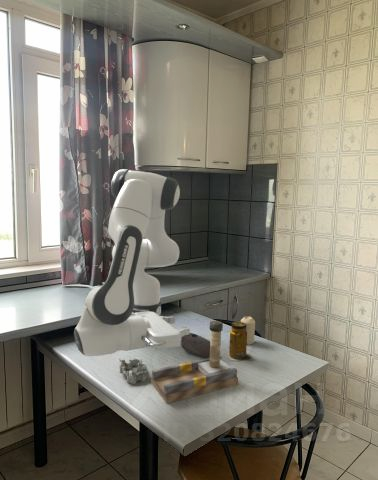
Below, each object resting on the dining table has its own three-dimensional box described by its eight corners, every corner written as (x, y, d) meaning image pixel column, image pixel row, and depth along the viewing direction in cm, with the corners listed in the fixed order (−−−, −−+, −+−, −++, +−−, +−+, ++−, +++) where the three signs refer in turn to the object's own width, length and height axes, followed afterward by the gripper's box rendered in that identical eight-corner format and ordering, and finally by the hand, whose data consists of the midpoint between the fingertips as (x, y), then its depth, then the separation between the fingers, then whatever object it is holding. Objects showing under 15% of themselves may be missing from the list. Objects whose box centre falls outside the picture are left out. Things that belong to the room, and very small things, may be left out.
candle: (237, 342, 146) (238, 317, 144) (243, 337, 150) (244, 313, 149) (250, 346, 143) (251, 320, 141) (256, 341, 147) (257, 316, 146)
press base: (166, 403, 104) (166, 388, 104) (150, 382, 115) (150, 369, 114) (238, 384, 115) (238, 370, 115) (217, 366, 126) (218, 354, 125)
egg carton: (117, 369, 123) (117, 358, 122) (139, 365, 126) (139, 354, 125) (127, 385, 113) (127, 373, 113) (150, 380, 116) (150, 368, 116)
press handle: (208, 379, 113) (210, 329, 110) (197, 369, 119) (199, 321, 117) (231, 374, 117) (233, 325, 114) (219, 364, 123) (221, 317, 120)
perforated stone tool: (221, 359, 131) (222, 340, 130) (213, 364, 127) (214, 345, 126) (188, 347, 140) (188, 329, 139) (179, 351, 136) (179, 333, 135)
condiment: (226, 351, 137) (227, 320, 136) (249, 351, 138) (250, 320, 136) (230, 361, 130) (232, 328, 128) (254, 360, 131) (256, 328, 129)
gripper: (150, 334, 94) (198, 326, 100) (124, 310, 112) (167, 304, 118) (149, 358, 94) (198, 348, 101) (124, 330, 112) (167, 323, 119)
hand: (181, 324), depth 109 cm, fingers open, 8 cm apart
